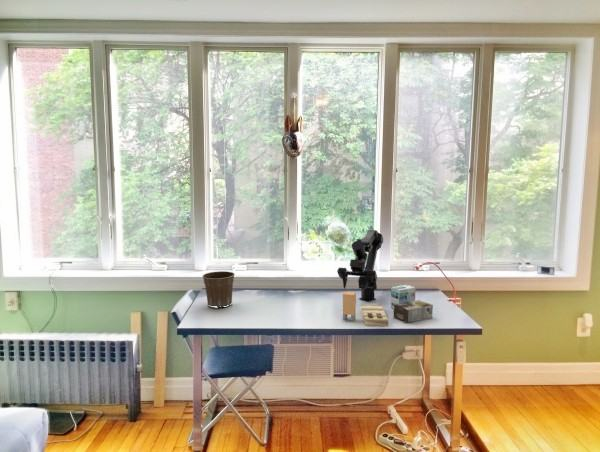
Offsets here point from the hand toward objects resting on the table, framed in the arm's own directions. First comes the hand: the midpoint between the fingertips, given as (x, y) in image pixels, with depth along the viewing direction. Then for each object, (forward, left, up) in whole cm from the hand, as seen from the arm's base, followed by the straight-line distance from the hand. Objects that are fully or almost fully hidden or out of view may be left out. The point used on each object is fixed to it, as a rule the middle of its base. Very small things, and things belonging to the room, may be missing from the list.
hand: (353, 289), depth 202 cm
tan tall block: (+3, -6, -13) cm, 14 cm away
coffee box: (+22, +27, -9) cm, 36 cm away
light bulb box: (+8, +27, -13) cm, 31 cm away
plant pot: (-55, -42, -13) cm, 70 cm away
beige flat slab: (+8, +5, -13) cm, 16 cm away
